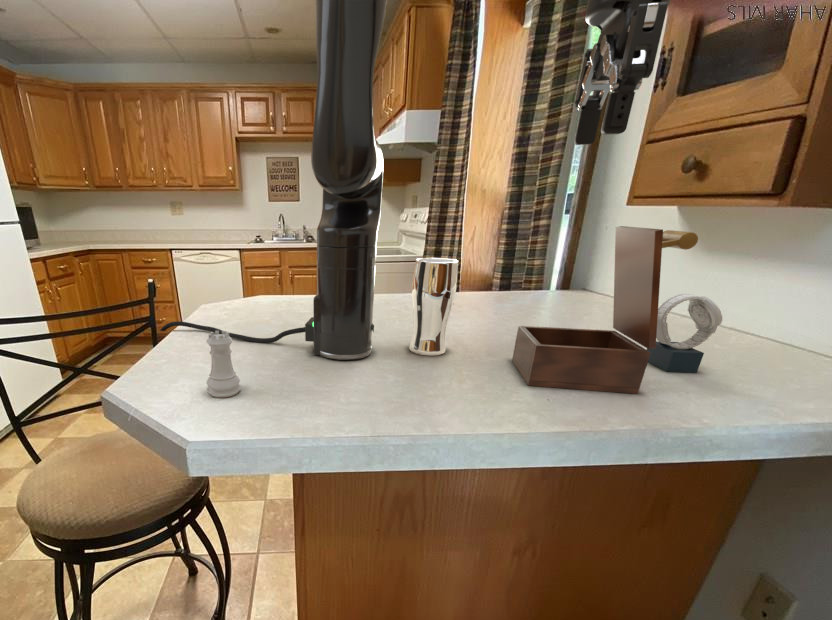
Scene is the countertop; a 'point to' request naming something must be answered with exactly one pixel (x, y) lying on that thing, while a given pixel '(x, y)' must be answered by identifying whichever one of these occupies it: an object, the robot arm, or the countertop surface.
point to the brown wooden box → (579, 359)
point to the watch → (682, 353)
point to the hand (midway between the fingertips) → (596, 139)
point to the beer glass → (432, 303)
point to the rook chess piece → (221, 367)
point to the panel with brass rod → (641, 278)
